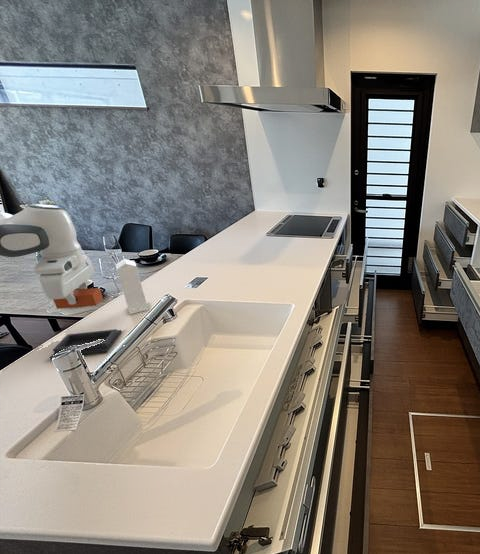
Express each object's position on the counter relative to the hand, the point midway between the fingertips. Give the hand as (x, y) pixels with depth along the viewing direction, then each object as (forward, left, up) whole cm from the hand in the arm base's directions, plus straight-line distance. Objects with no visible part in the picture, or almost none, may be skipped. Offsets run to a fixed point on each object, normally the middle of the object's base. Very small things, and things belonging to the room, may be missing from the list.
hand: (79, 298), depth 97 cm
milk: (+8, +18, -15) cm, 25 cm away
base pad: (+1, -5, -15) cm, 16 cm away
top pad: (0, 0, -2) cm, 2 cm away
